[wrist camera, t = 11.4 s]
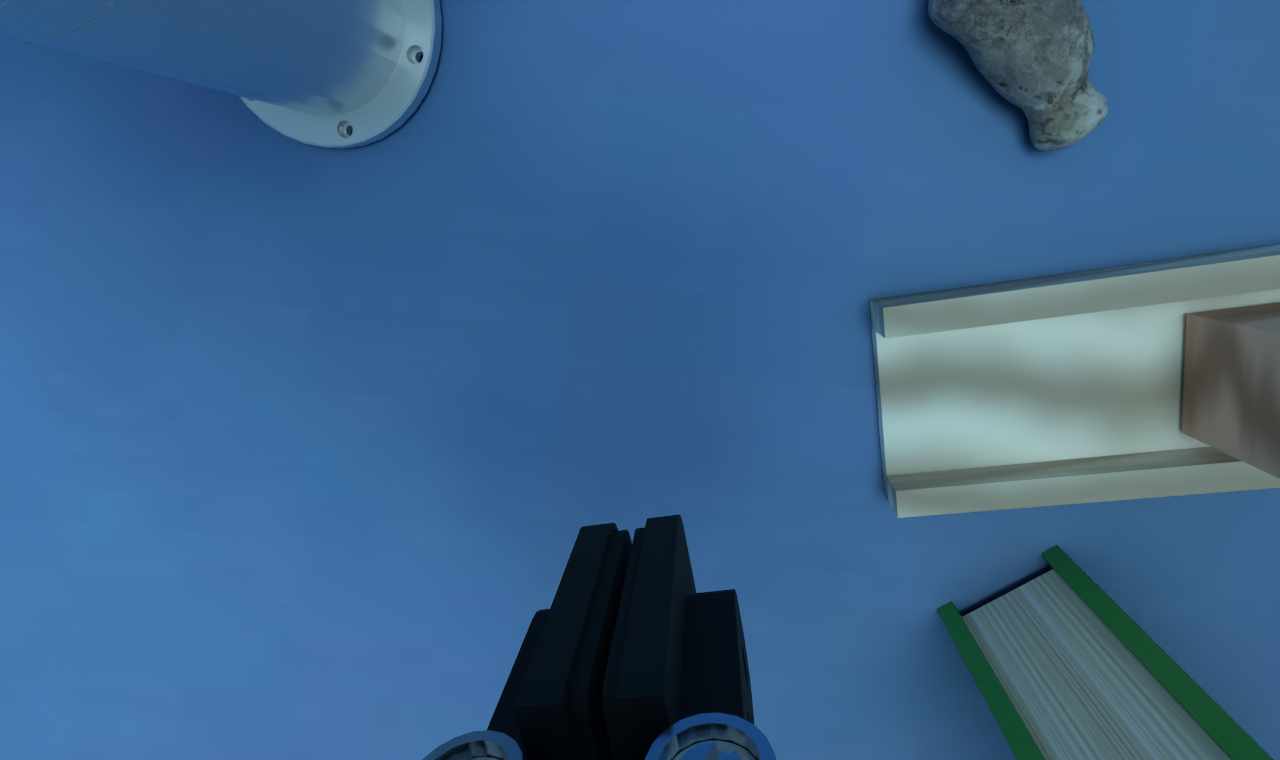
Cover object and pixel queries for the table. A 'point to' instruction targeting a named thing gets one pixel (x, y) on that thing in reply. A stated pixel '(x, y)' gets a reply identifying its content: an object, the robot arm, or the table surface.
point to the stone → (1032, 61)
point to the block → (1235, 383)
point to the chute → (1054, 386)
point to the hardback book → (1086, 678)
